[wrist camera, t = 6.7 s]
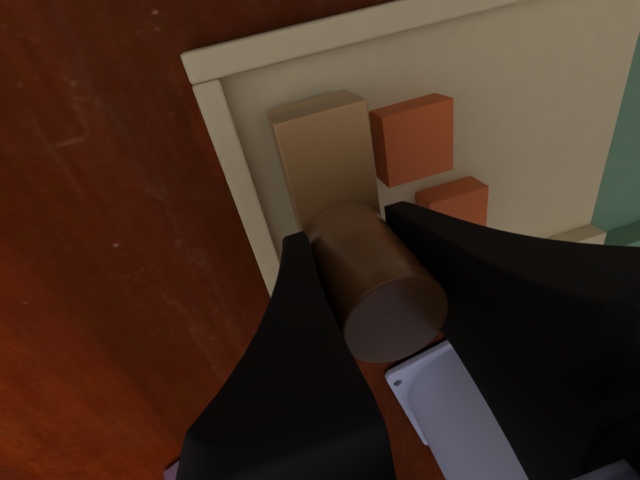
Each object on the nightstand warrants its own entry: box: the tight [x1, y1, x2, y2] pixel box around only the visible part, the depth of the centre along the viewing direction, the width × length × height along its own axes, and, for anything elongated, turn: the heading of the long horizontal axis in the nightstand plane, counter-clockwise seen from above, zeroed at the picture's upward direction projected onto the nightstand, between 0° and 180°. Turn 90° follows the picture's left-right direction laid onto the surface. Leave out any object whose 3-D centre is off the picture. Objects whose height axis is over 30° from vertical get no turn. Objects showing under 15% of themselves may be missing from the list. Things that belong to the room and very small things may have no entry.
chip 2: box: [415, 176, 489, 226], centre depth 14 cm, size 2×2×1 cm
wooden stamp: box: [266, 90, 449, 363], centre depth 11 cm, size 8×3×6 cm, turn 12°
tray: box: [181, 0, 640, 298], centre depth 14 cm, size 12×16×2 cm
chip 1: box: [369, 93, 454, 188], centre depth 12 cm, size 2×2×1 cm
